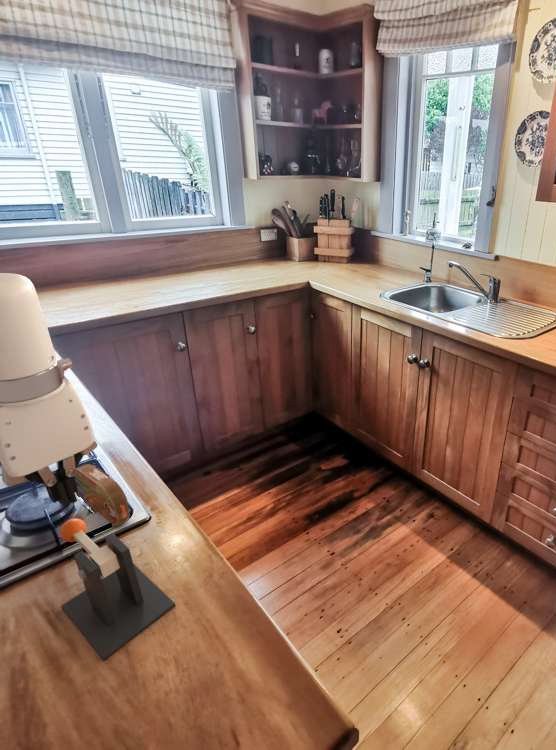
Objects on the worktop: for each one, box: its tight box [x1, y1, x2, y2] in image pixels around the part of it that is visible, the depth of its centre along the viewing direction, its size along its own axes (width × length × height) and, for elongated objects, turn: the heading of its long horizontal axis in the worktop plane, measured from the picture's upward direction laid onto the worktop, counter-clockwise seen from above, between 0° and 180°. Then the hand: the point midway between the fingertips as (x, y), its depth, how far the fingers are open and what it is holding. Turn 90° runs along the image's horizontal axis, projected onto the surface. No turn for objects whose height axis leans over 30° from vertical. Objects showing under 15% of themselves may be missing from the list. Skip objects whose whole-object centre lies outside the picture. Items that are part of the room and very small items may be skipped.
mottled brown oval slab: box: [74, 463, 131, 529], centre depth 81 cm, size 15×3×8 cm, turn 55°
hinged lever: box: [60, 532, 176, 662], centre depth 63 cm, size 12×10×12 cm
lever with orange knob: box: [59, 517, 120, 579], centre depth 64 cm, size 12×3×3 cm, turn 53°
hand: (66, 499), depth 63 cm, fingers closed
